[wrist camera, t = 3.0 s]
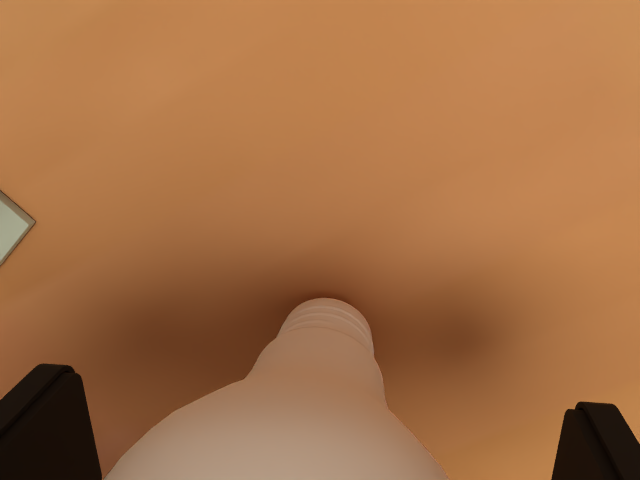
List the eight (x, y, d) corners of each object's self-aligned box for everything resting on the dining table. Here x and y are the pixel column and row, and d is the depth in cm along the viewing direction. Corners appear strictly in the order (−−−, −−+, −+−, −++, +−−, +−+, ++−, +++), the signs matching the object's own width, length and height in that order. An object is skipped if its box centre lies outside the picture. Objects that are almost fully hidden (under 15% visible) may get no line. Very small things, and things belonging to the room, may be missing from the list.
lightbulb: (199, 246, 15) (-214, 705, 5) (416, 203, 14) (508, 687, 3) (259, 422, 17) (62, 1018, 7) (453, 397, 16) (583, 1074, 5)
